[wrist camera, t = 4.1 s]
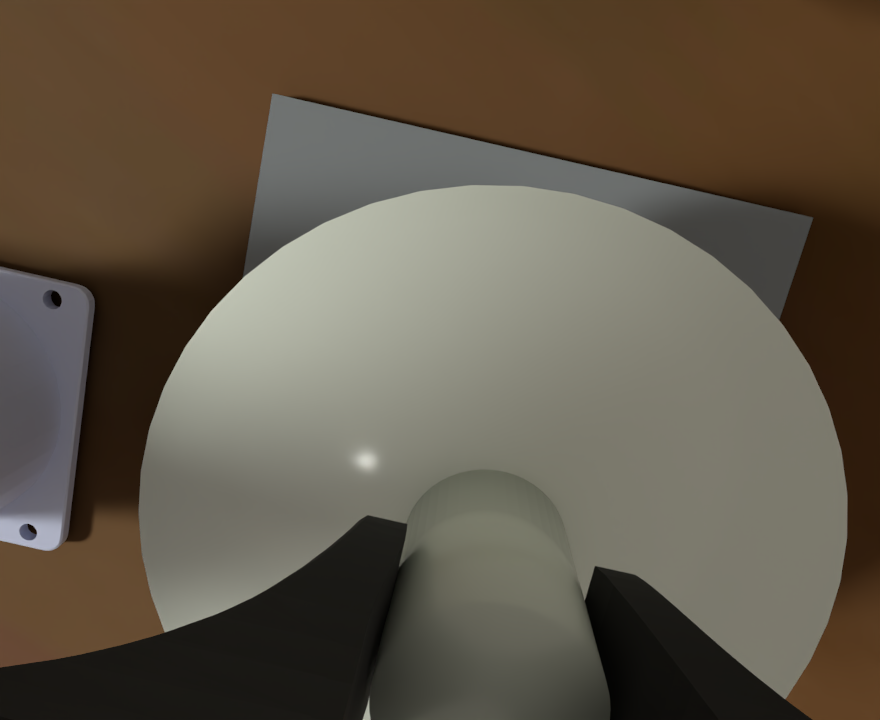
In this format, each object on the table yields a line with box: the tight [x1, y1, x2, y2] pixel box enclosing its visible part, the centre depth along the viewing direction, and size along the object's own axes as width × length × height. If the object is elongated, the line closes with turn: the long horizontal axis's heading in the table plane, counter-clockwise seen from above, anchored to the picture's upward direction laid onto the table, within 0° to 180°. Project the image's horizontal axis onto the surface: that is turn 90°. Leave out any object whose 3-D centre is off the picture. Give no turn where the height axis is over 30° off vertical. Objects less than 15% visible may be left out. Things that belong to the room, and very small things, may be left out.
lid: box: [139, 185, 847, 720], centre depth 11 cm, size 12×12×5 cm
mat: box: [243, 94, 813, 320], centre depth 20 cm, size 14×14×1 cm
